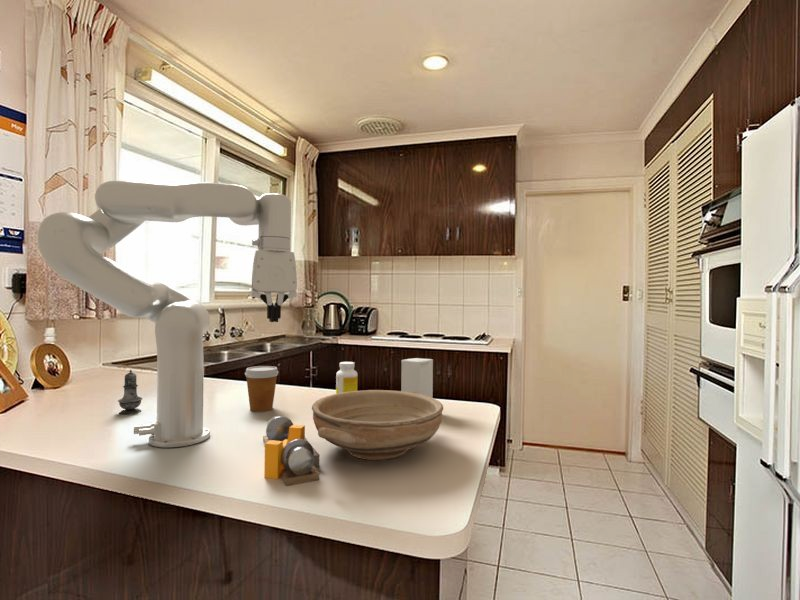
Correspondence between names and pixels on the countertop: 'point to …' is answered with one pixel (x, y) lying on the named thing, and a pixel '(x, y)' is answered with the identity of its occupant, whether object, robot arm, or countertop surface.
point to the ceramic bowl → (377, 421)
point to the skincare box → (417, 376)
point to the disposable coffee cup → (261, 387)
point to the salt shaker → (130, 396)
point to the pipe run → (293, 453)
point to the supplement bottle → (346, 378)
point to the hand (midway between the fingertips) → (273, 321)
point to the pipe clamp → (279, 451)
